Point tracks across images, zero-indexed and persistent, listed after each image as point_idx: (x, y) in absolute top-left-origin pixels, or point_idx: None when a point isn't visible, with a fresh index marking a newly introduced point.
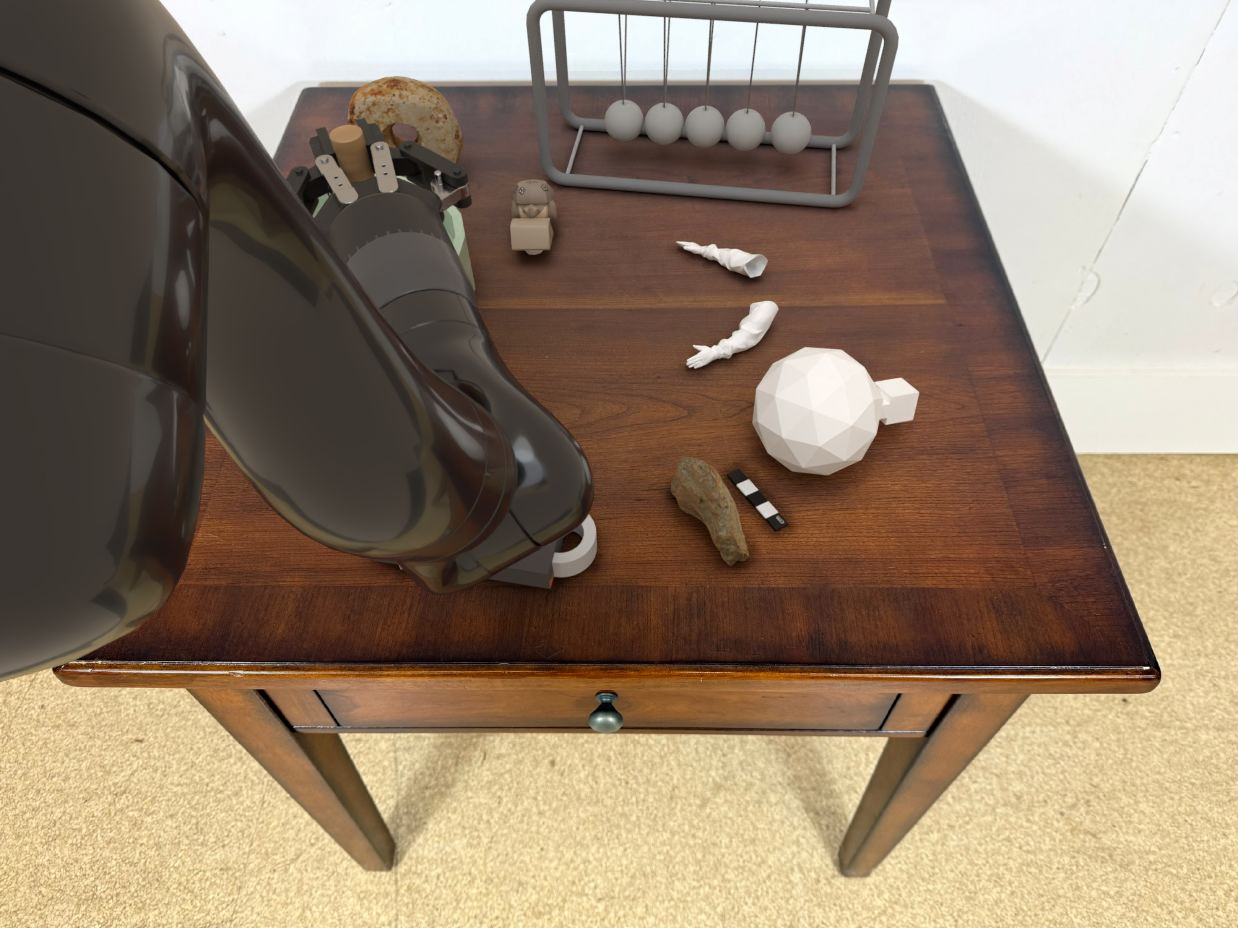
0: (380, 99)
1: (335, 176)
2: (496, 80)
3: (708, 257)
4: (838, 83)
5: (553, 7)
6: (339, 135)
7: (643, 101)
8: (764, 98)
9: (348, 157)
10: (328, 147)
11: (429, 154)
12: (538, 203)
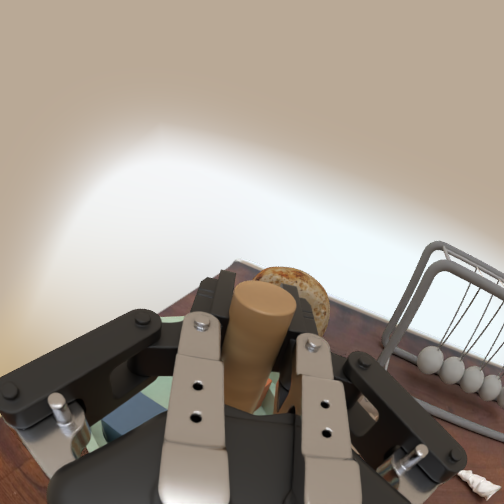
0: (284, 280)
1: (198, 382)
2: (340, 300)
3: (465, 480)
4: (497, 366)
5: (453, 269)
6: (253, 294)
7: (420, 345)
8: (473, 364)
9: (248, 337)
10: (223, 303)
11: (402, 396)
12: (375, 412)
